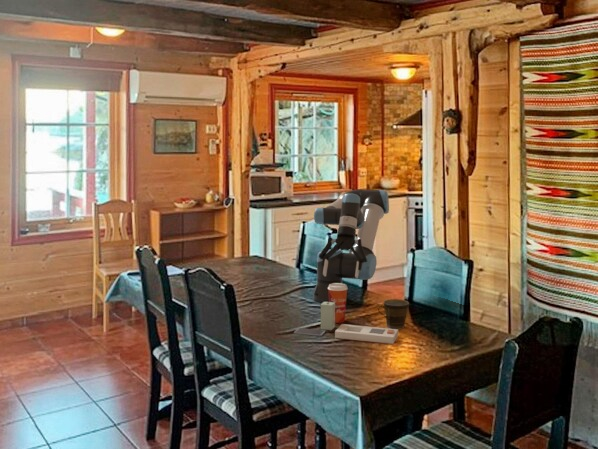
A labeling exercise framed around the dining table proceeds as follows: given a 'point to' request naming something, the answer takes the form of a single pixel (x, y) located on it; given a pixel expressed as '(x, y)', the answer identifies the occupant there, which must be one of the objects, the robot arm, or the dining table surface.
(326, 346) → the dining table surface
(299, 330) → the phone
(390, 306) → the ceramic cup
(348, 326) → the power strip
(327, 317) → the block
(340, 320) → the coffee cup
